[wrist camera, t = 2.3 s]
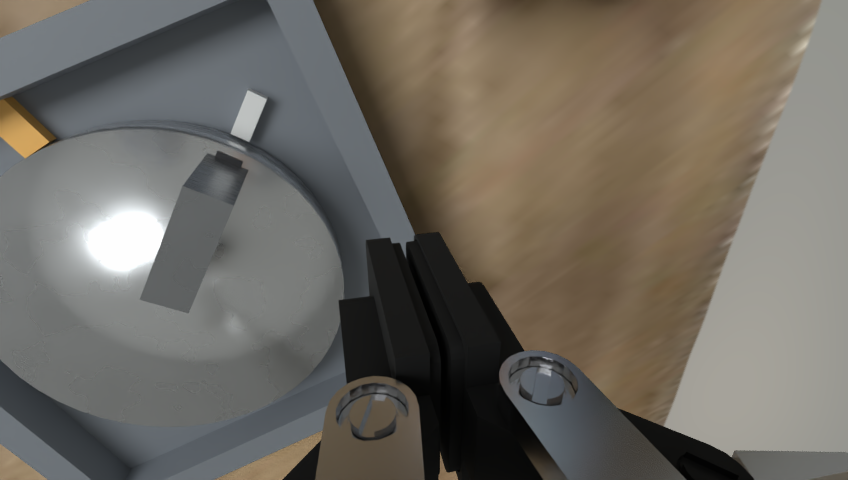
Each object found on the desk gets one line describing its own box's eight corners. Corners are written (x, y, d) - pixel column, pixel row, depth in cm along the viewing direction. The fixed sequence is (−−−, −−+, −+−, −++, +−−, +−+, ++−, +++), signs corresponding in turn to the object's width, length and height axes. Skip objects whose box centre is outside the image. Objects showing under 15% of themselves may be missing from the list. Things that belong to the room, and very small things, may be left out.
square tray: (456, 330, 29) (470, 362, 26) (129, 478, 28) (110, 526, 25) (283, -65, 18) (278, -79, 15) (-247, 158, 18) (-346, 183, 15)
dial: (275, 422, 27) (267, 520, 22) (-40, 356, 21) (-157, 468, 16) (392, 205, 23) (416, 262, 17) (35, 48, 17) (-89, 63, 12)
